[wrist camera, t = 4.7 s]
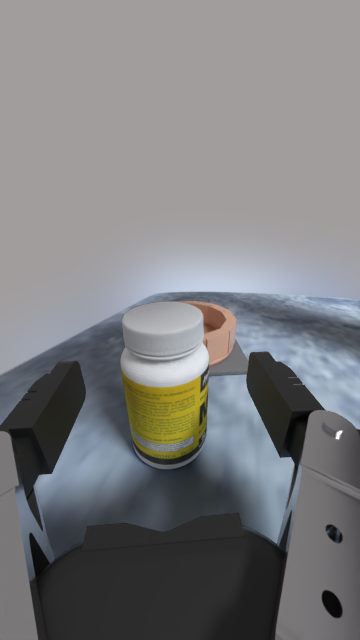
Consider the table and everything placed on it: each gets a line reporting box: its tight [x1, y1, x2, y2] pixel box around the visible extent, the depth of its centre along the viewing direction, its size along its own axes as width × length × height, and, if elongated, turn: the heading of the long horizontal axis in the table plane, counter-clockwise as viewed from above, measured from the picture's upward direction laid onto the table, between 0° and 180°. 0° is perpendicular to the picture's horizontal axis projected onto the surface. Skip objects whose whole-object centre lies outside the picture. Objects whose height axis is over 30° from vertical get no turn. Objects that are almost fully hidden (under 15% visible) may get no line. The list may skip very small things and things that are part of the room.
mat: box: [209, 339, 249, 376], centre depth 24 cm, size 11×11×1 cm
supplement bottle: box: [120, 301, 209, 469], centre depth 13 cm, size 5×5×8 cm
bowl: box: [173, 301, 237, 367], centre depth 24 cm, size 10×10×3 cm
